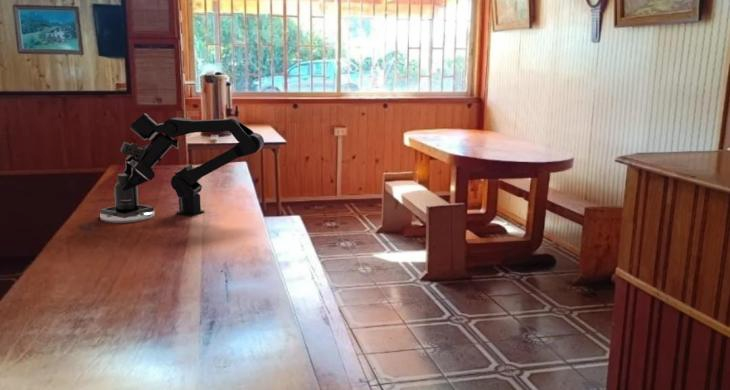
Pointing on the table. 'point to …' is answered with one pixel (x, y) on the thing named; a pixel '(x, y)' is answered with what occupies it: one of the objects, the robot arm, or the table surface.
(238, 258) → the table surface
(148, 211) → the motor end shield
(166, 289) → the table surface
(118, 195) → the supplement bottle
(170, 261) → the table surface
